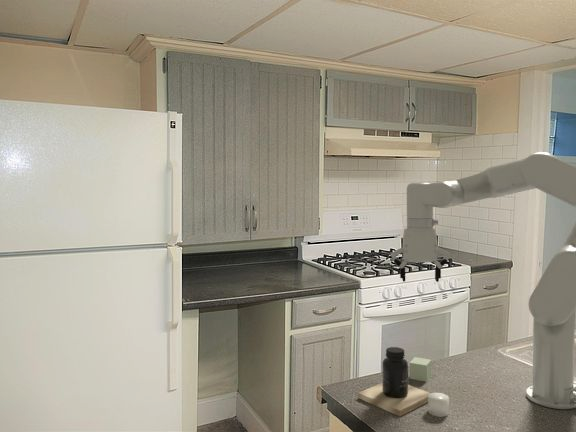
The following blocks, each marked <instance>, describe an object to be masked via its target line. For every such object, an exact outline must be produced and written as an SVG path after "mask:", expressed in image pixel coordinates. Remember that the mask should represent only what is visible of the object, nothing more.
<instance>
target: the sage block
mask: <svg viewBox="0 0 576 432" xmlns="http://www.w3.org/2000/svg"><path fill="white" fill-rule="evenodd" d="M431 376H432V360H431V359H428V358H423V357H417V356H414V357H413V358H412V360H410V362H409V380H414V381H419V382H420V381H421V382H425V383H427V382H428V381H429V380H430V378H431Z"/></svg>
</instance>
